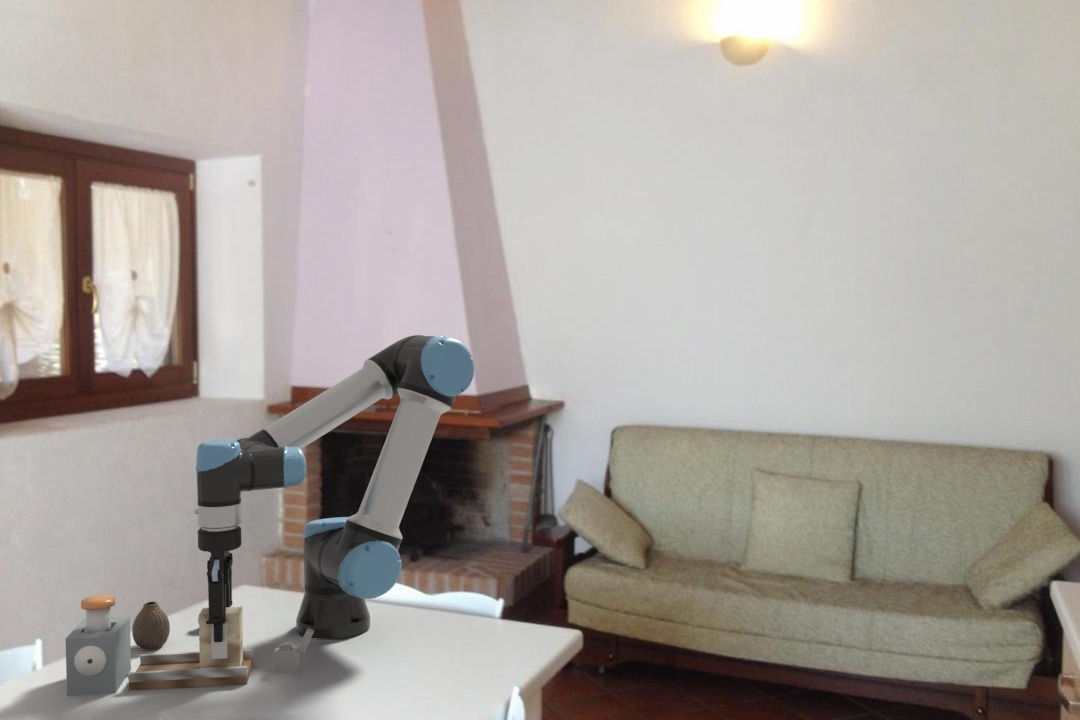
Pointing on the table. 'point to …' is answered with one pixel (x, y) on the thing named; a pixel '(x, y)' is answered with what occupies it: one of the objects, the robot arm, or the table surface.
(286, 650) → the lighter
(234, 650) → the beige wooden block
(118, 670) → the cabinet
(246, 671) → the rail board
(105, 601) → the plunger
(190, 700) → the table surface
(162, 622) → the vase
